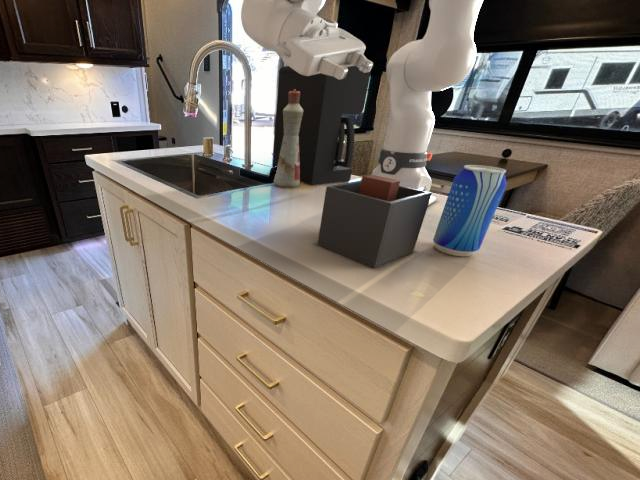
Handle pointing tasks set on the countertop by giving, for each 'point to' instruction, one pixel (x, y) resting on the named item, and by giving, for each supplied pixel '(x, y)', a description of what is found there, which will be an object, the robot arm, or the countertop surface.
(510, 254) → the countertop surface
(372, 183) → the packet
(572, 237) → the countertop surface
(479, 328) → the countertop surface
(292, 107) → the bottle
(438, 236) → the beer can
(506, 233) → the countertop surface
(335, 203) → the bin
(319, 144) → the coffee maker
